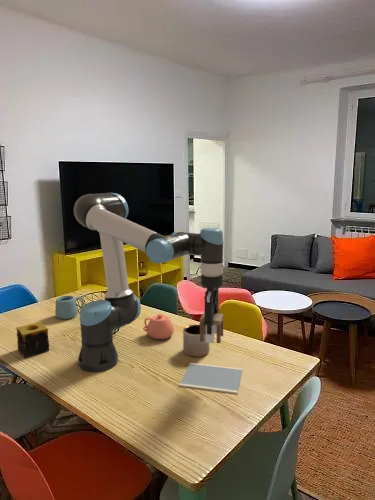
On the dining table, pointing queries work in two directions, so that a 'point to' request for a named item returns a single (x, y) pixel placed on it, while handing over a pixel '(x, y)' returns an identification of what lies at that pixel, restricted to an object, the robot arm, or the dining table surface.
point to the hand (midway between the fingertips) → (211, 337)
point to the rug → (212, 378)
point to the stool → (216, 321)
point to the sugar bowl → (159, 327)
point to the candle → (32, 339)
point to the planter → (194, 342)
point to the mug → (67, 307)
